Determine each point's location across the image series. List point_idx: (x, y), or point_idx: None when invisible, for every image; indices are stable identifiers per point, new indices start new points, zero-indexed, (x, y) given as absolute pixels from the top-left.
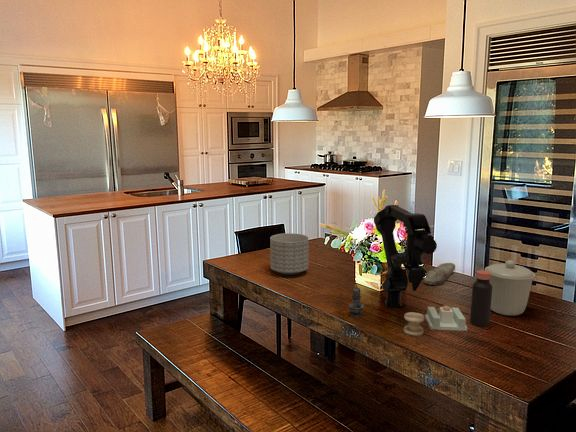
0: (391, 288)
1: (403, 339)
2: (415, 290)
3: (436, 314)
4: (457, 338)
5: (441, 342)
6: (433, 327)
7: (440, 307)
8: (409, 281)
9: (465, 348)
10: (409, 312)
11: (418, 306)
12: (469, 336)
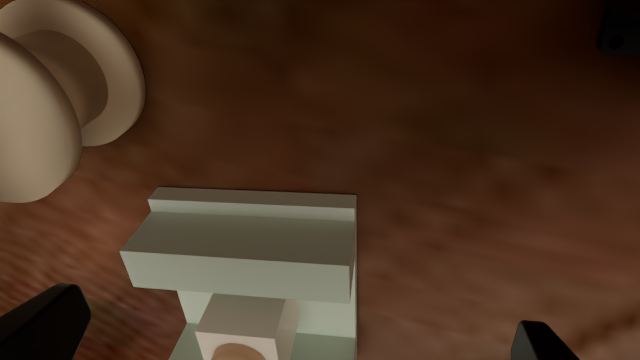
0: None
1: None
2: (67, 315)
3: (197, 283)
4: (96, 281)
5: (8, 203)
6: (156, 209)
7: (270, 341)
8: (529, 343)
9: (5, 281)
10: (35, 91)
11: (591, 194)
12: (142, 328)
